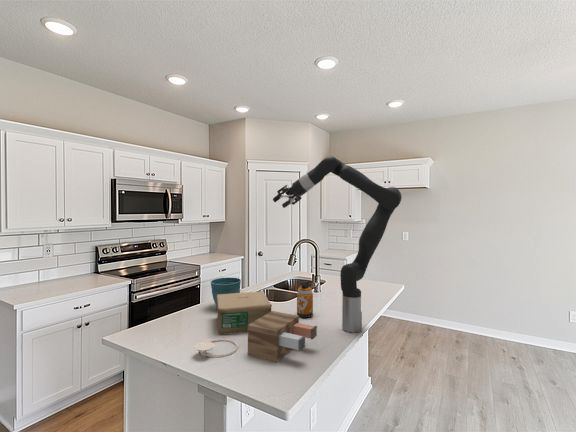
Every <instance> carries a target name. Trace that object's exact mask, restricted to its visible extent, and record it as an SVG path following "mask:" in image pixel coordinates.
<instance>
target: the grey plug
mask: <svg viewBox="0 0 576 432" xmlns="http://www.w3.org/2000/svg"><path fill="white" fill-rule="evenodd" d="M279 346H283V347H288V348H292V349H293V350H297V351H298V352H301V351H302V350H304V348H306V337H305V336H299V335H295V334H290V333H285V332H282V333H281V334H279ZM292 349H291V350H292Z"/></svg>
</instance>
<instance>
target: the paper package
mask: <svg viewBox="0 0 576 432" xmlns="http://www.w3.org/2000/svg"><path fill="white" fill-rule="evenodd" d="M272 306H273V305H272V303H271V301H270V300H269V299H268V297H267V295H266V294H265V291H264V290H262V291H261V290H260V291H249V292H247V291H246V292H240V293H232V294H217V309H216V311H217V314H216V315H217V317H216V321H217V334H218V336H221V335H223V336H224V335H230V334H238V333H248V325H249V324H250V323H252V322H254V321H256V320H257V319H259V318H261V317H262V316H264V315H266V314H268V313H269V312H271V311H272Z"/></svg>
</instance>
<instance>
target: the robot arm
mask: <svg viewBox="0 0 576 432" xmlns="http://www.w3.org/2000/svg"><path fill="white" fill-rule="evenodd" d="M330 173H331V174H333V175H335V176H337V177H339V178H340V179H341V180H343V181H344V182H346V183H348V184H349V185H351V186H353V187H354V188H356V189H359V190H360V191H362V192H363V193H364V194H366V195H368V196H369V197H370V198H371V199H373V200H374V201H375V202H377V206H376V208H375V211H374V213H373V214H372V215H371V217H370V218H369V220H368V222H366V225H365V227H364V228H363V231H361V234H360V237H359V239H358V251H357V254H356V256H355V258H354V260H353V261H352V262H351V263H346V264H344V265H343V266H342V267H341V269H340V289H341V291H342V297H341V298H342V299H341V301H342V303H341V304H342V309H341V310H342V311H341V312H342V317H341V319H342V321H341V324H342V325H341V327H342V330H343V331H345V332H348V333H358V332H362V331H363V328H362V327H363V311H362V290H361V289H360V288H358V287H357V286H358V283H357V282H358V281H360V280H362V279H363V277H364V276H365V274H366V271H367V269H368V265H369V263H370V261H371V259H372V258H373V255H374V253H375V252H376V250H377V248H378V246H379V244H380V242H381V241H382V238H383V236H384V234H385V232H386V228H387V226H388V223H389V220H390V219H391V216H392V215H393V213H394V211H395V210H396V208H398V207H399V206H400V204H401V202H402V193H401V191H400V189H398V188H397V187H393V186H390V187H384V186H382V185H380V184H377V182H374V181H373V180H371V179H370V178H369V177H368V176H366V175H365V174H364V173H362V172H361V171H360V170H358V169H356V168H354V167H352V166H351V165H347V164H346V163H345V162H343V161H341V160H340V159H338V158H336V157H335V156H333V155H332V156H331V155H329V156H326V157H324V159H322V160H321V161H320V162H319V163H318V164H317V165H315V167H314V168H312V169H311V170H309V171H308V172H307V173H305V174H303V175H302V176H301V177H299V178H298V179H297V180H295V181H294V182H293V183H292V184H291V186H289V185H288V184H285V185H284V186H282V187H281V188H280V189H278V190H277V191H276V192H277V194H276V196H274V197H273V198H272V201H273V202H274V203H276V202H278V201H279V200H280V199H281V198H287V200H286V201H285V202H283V203H282V204H281V205H282V208H283V209H285V208H287V207H288V206H289V205H292V206H294V205H296V204H297V203H298V202H299V201H300V200H302V196H303V195H305V194H306V193H308V192H309V191H310V190H312V189H313V188H314V187H315V186H316V185H318V184H319V183H320V182H322V181H323V180H324V178H325V177H326V176H328V175H329V174H330Z"/></svg>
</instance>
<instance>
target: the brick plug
mask: <svg viewBox="0 0 576 432" xmlns="http://www.w3.org/2000/svg"><path fill="white" fill-rule="evenodd" d="M317 328H318V327H317V325H311V324H306V323H300V322H299V323H294V324H293V325H292V334H295V335H299V336H305V339H310V340H314V339H315V338H316V337H317V336H318V333H317V332H318V331H317V330H318V329H317Z"/></svg>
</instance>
